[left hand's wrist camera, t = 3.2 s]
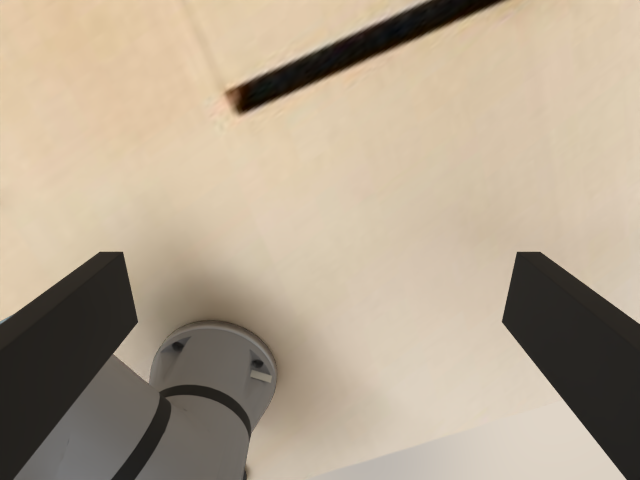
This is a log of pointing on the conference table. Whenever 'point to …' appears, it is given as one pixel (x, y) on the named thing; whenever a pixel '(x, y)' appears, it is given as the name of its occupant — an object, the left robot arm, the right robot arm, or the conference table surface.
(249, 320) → the conference table surface
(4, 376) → the left robot arm
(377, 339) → the conference table surface
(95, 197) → the conference table surface
